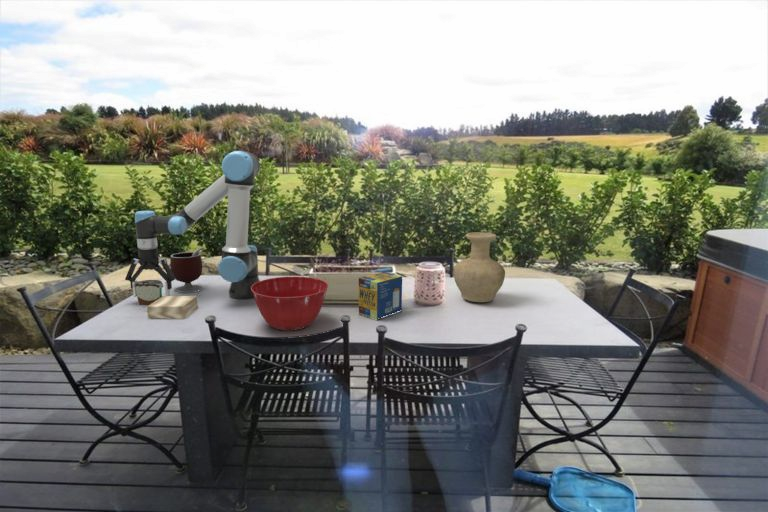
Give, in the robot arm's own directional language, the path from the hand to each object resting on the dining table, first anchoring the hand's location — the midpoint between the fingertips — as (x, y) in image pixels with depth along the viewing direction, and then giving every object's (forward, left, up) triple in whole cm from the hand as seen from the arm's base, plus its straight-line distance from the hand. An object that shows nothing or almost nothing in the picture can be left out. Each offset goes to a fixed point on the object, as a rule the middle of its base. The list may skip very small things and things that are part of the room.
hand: (152, 296), depth 195 cm
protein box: (-98, +12, -4) cm, 99 cm away
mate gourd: (-7, -22, -4) cm, 23 cm away
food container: (0, 0, -4) cm, 4 cm away
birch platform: (-14, +12, -3) cm, 19 cm away
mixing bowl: (-64, +25, -4) cm, 69 cm away
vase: (-142, -6, -4) cm, 142 cm away
